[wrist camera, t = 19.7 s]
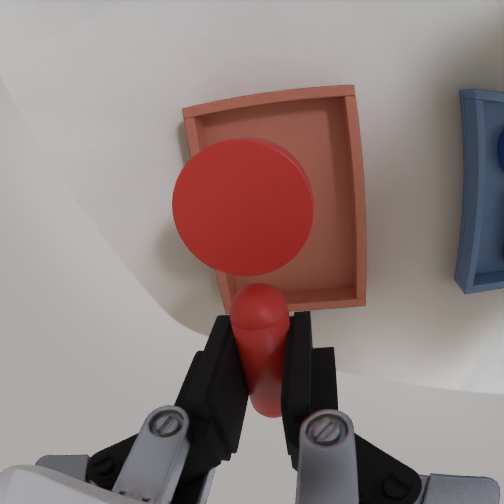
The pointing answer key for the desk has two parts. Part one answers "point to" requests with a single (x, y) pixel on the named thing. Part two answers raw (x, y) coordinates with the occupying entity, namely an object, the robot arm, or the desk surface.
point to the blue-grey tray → (481, 193)
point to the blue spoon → (501, 155)
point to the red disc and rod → (248, 243)
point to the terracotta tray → (321, 180)
